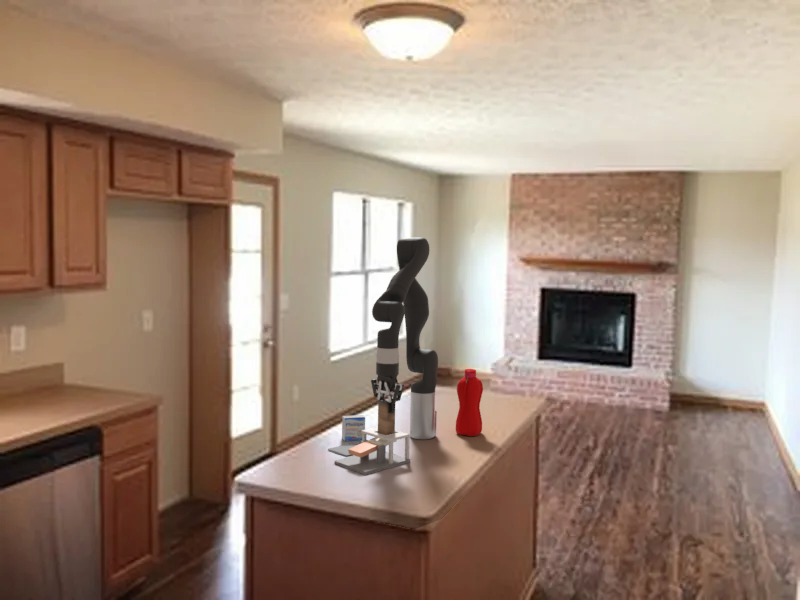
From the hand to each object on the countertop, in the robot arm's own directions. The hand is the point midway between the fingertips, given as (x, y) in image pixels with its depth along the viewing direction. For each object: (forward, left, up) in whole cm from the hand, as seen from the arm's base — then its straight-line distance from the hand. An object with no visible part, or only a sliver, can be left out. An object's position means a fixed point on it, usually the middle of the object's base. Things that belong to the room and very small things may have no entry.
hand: (386, 411), depth 238 cm
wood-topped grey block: (0, 0, -7) cm, 7 cm away
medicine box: (-8, -26, -17) cm, 32 cm away
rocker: (+6, 0, -10) cm, 12 cm away
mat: (+3, -16, -16) cm, 23 cm away
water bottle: (-46, -3, -16) cm, 49 cm away
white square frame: (+6, 0, -16) cm, 17 cm away
